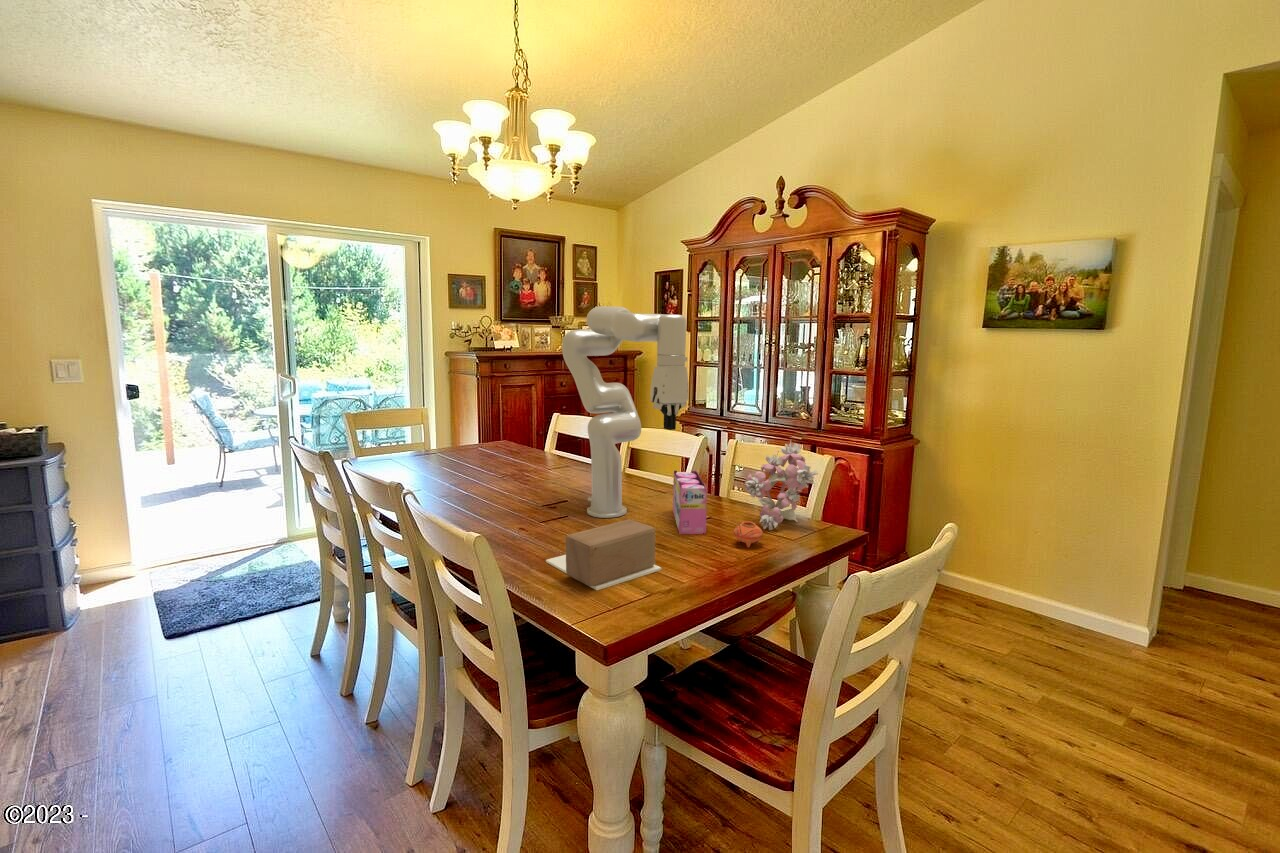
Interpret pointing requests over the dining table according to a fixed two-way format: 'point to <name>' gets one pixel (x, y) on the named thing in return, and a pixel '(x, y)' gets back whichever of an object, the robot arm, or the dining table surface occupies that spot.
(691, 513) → the gum box
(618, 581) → the pale grey mat
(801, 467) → the flower
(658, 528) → the dining table surface
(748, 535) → the pot
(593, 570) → the wooden block
